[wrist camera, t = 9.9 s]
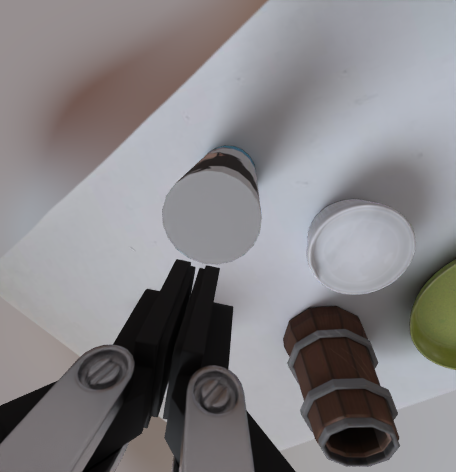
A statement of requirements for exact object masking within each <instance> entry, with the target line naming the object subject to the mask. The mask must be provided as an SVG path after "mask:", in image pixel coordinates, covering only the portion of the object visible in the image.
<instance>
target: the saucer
mask: <svg viewBox="0 0 456 472" xmlns="http://www.w3.org/2000/svg"><path fill="white" fill-rule="evenodd" d="M410 334H411V338H412V341H413V343H414V345H415V346H416V348H417V349H418V351H419V352H420V353H421V354H422V355H423V356H424V357H426V358H427V359H428V360H430V361H432V362H433V363H435V364H438V365H440V366H443V367H446V368H450V369H453V370H456V259H455V260H454V261H452V262H450V263H449V264H447V265H446V266H444V267H443V268H442V269H440V270H439V271H438V272H437V273H435V274H434V275H433V276H432V277H431V278H430V279H429V280H428V281H427V283H426V284H425V285H424V286H423V288H422V289H421V290H420V292H419V294H418V295H417V297H416V299H415V302H414V304H413V307H412V311H411V315H410Z"/></svg>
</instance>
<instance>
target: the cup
mask: <svg viewBox="0 0 456 472" xmlns="http://www.w3.org/2000/svg"><path fill="white" fill-rule="evenodd" d="M162 217H163V226H164V229H165V231H166V234H167V237H168V239H169V240H170V241H171V242H172V244H173V245H174V246H175V248H176V249H177V250H178V251H180V252H181V253H183V254H184V255H185V256H187V257H188V258H190V259H193V260H195V261H198V262H201V263H205V264H222V263H228V262H232V261H234V260H236V259H238V258H239V257H241V256H243V255H244V254H245V253H246V252H247V251H248V250H249V249H250V248H251V247H252V246H253V245H254V244H255V241H256V239H257V237H258V235H259V233H260V228H261V219H262V217H261V209H260V201H259V193H258V185H257V176H256V170H255V166H254V163H253V161H252V159H251V158H250V156H249V155H248V154H247V153H245V152H244V151H243V150H242V149H239V148H237V147H234V146H222V147H218V148H215V149H214V150H212V151H211V152H209V153H208V154H207V155H206V156H205V157H204V158H202V159H201V160H200V161H199V162H198V163H197V164H196V165H195V166H194V167H193V168H192V169H191V170H190V171H188V172H187V173H186V174H185V175H184V176H183V177H182V178H181V179H180V180H179V181H178V182H177V183H176V184H175V185H174V186H173V188H172V189H171V190H170V192H169V193H168V194H167V196H166V199H165V202H164V205H163V209H162Z"/></svg>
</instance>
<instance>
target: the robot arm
mask: <svg viewBox="0 0 456 472" xmlns="http://www.w3.org/2000/svg"><path fill="white" fill-rule="evenodd" d="M219 270H220V268H216V267H212V266H207V265H206V267H205V269H203V268H199V271H198V275H197V278H196V281H195V284H194V287H193V290H192V285H193V279H194V274H195V267H193V266H191V262H188V261H183V260H178V259H176V261H175V263H174V265H173V267H172V269H171V271H170V273H169V275H168V277H167V279H166V281H165V283H164V285H163V287H162V289H161V290H160V291H156V290H151V289H146V290H145V292H144V293H143V295H142V297H141V298H140V300H139V302H138V303H137V305H136V307H135V308H134V310H133V312H132V313H131V315H130V317H129V318H128V320H127V322H126V323H125V325H124V327H123V328H122V330H121V332H120V334H119V335H118V337H117V339H116V340H115V342H114V344H113V345H102V346H99V347H95V348H93V349H91V350H89V351H87V352H85V353H84V354H83V355H82V356H81V357H80V358H79V359H78V360H77V361H76V362H75V363H74V364H73V365H72V366H71V367H70V368H69V369H68V371H67V372H66V373H65V374H64V375H63V376H62V377H61V378H60V379H59V380H58V381H56V382H54V383H51V384H49V385H47V386H44V387H42V388H40V389H38V390H35V391H33V392H31V393H28V394H26V395H24V396H21V397H19V398H17V399H14V400H12V401H10V402H8V403H5V404H3V405H1V406H0V472H115V471H116V469H117V467H118V465H119V463H120V461H121V459H122V457H123V455H124V453H125V451H126V449H127V446H128V443H129V442H130V441H131V440H132V439H134V438H136V437H137V436H139V435H140V434H141V433H142V431H143V428H148V424H149V421H150V418H151V416H153V417H158V415H159V412H160V408H161V405H162V402H163V398H164V395H165V392H166V388H167V385H168V389H167V395H166V402H165V408H164V415H163V419H168V420H167V426H166V432H165V440H166V442H167V443H168V445H169V447H170V449H171V451H172V453H173V455H174V456H173V464H172V472H295V470H294V469H293V468H292V467H291V465H290V464H289V463H288V462H287V460H286V459H285V458H284V457H283V455H282V454H281V453H280V452H279V450H278V449H277V448H276V447H275V445H274V444H273V443H272V442H271V440H270V439H269V438H268V437H267V435H266V434H265V433H264V432H263V430H262V429H261V428H260V427H259V425H258V424H257V423H256V422H255V420H254V419H253V418H252V417H251V415H250V414H249V413H248V412H247V410H246V404H245V396H244V391H243V387H242V384H241V382H240V381H239V379H238V377H237V376H236V375H235V374H234V373H232V372H231V371H230V370H228V366H229V354H230V342H231V329H232V317H233V306H228V305H223V304H219V303H214V297H215V291H216V286H217V281H218V276H219ZM191 291H192V293H191Z"/></svg>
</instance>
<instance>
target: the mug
mask: <svg viewBox="0 0 456 472" xmlns="http://www.w3.org/2000/svg"><path fill="white" fill-rule="evenodd" d="M283 341H284V347H285V349H286V351H287V353H288V355H289V357H290V358H289V361H288V366H289V368H290V370H291V372H292V374H293V375H294V377H295V379H296V381H297V382H298V383H299V385H300V389H301V392H302V395H303V398H304V403H303V405H302V407H301V409H300V411H301V415H302V417H303V418H304V420H305V422H306V423H307V425H308V427H309V428H310V430H311V431H312V432H313V433H314V437H315V439H316V441H317V443H318V444H319V446H320V447H321V449H322V451H323V453H324V454H325V456H326V457H327V459H329V460H331V461H334V462H337V463H339V464H342V465H344V466H367V467H368V466H372V465H375V464H377V463H380V462H383V461H386V460H389V459H390V458H391V457H392V455H393V454H394V453H395V452H396V450H397V449H398V448H399V447H400V445H399V442H398V440H399V436H398V433H397V430H396V427H395V424H394V421H393V420H394V419H395V418H396V416H397V415H398V412H397V410H396V407H395V404H394V402H393V399H392V396H391V394H390V392H389V390H388V389H386V388H384V387H381V386H380V383H379V380H378V377H377V375H376V372H375V368H376V366H377V364H378V361H377V358H376V356H375V353H374V350H373V348H372V345H371V343H370V341H369V340H368V338H367V336H366V333H365V331H364V328H363V326H362V324H361V322H360V320H359V318H358V316H356V315H354V314H352V313H350V312H347V311H345V310H343V309H341V308H339V307H337V306H331V307H316V308H309V309H307V310H306V311H304V312H303V313H301V314H299V315H298V316H296V317H295V318H293V319H292V320H290V321H289V324H288V327H287V329H286V332H285V335H284V338H283Z"/></svg>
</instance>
